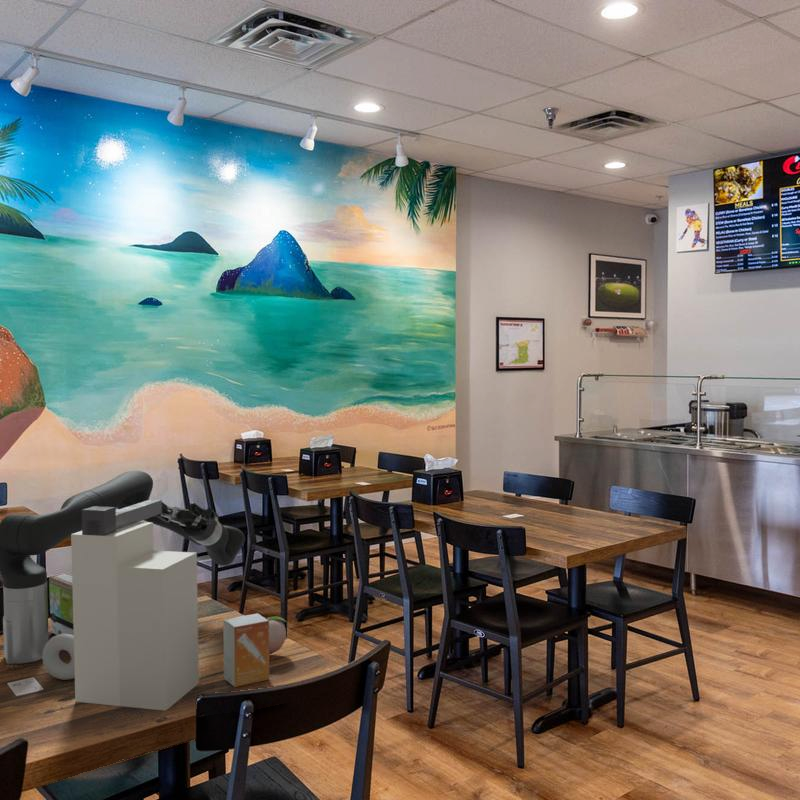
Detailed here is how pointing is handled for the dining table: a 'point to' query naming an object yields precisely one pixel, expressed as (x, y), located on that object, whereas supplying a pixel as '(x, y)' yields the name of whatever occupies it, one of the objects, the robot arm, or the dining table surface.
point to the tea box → (61, 604)
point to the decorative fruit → (276, 633)
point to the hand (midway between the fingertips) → (174, 505)
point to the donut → (52, 656)
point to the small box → (246, 649)
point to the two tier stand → (133, 620)
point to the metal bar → (117, 517)
